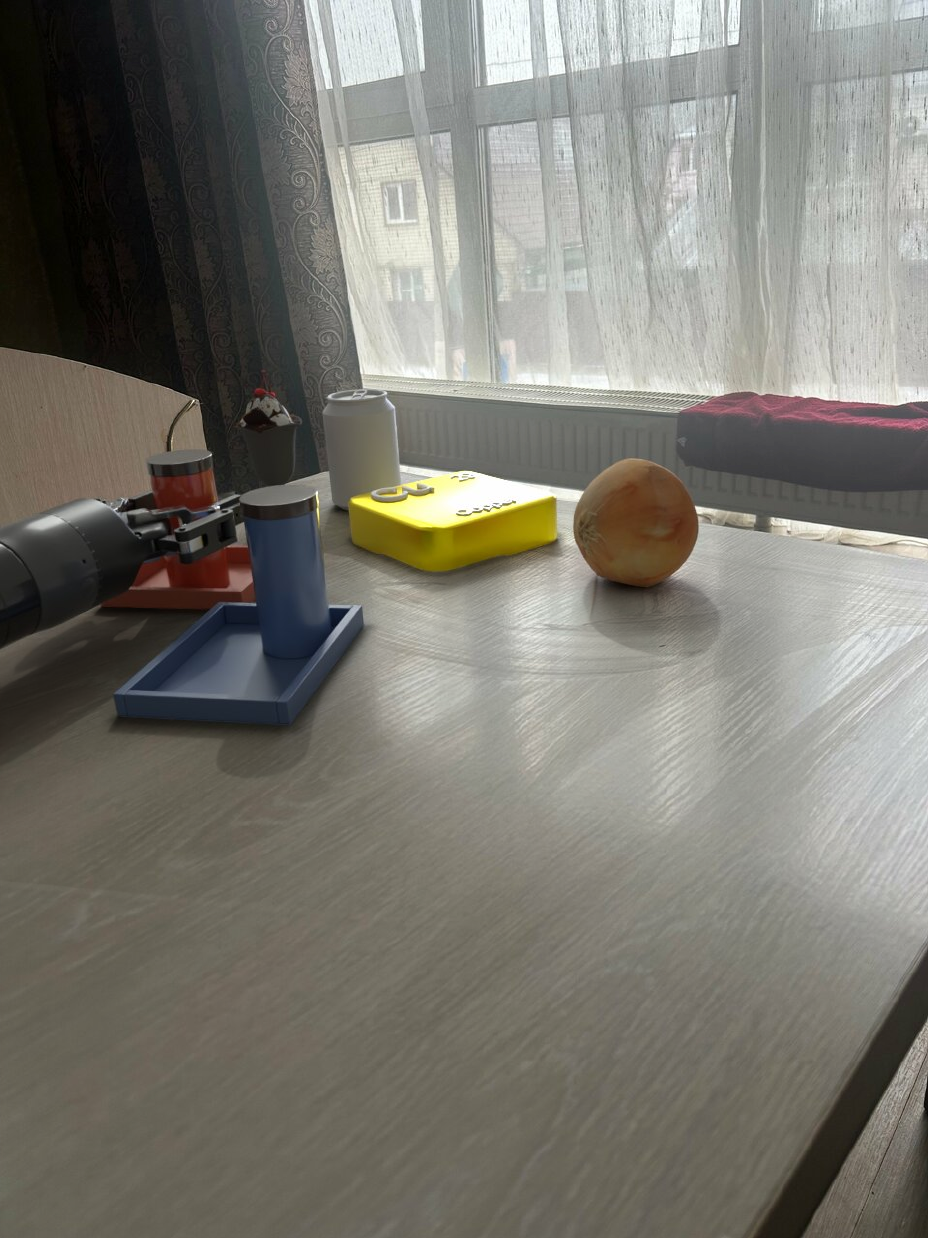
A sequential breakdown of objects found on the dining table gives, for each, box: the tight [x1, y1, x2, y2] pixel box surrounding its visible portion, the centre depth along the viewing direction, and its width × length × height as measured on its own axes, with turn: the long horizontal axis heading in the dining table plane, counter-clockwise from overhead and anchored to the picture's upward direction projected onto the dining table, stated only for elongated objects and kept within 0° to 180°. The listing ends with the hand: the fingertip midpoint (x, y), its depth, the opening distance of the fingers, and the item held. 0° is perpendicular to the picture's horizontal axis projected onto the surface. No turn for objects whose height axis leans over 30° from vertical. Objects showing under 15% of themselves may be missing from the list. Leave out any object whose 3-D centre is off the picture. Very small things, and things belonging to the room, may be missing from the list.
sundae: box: [234, 369, 303, 487], centre depth 98 cm, size 7×7×15 cm
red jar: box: [144, 448, 231, 589], centre depth 79 cm, size 5×5×11 cm
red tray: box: [100, 544, 256, 610], centre depth 82 cm, size 12×11×2 cm
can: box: [321, 388, 402, 512], centre depth 102 cm, size 8×8×12 cm
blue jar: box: [239, 484, 332, 659], centre depth 67 cm, size 5×5×11 cm
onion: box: [572, 457, 700, 588], centre depth 76 cm, size 10×10×10 cm
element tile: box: [348, 470, 558, 573], centre depth 90 cm, size 15×15×5 cm
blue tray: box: [112, 602, 365, 726], centre depth 66 cm, size 11×15×2 cm
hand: (202, 503), depth 81 cm, fingers open, 8 cm apart
